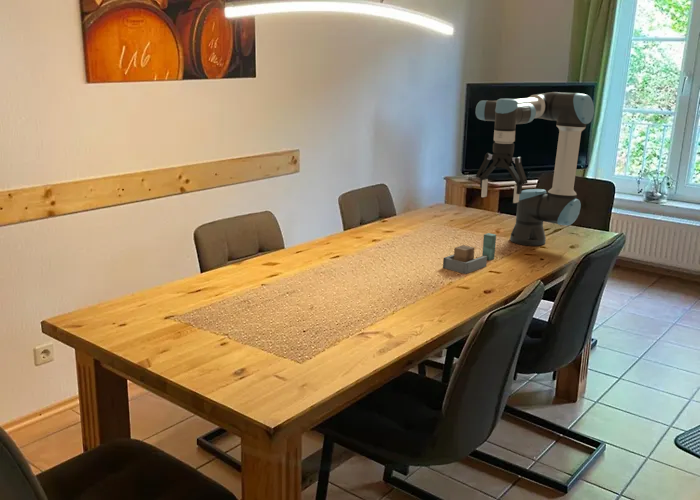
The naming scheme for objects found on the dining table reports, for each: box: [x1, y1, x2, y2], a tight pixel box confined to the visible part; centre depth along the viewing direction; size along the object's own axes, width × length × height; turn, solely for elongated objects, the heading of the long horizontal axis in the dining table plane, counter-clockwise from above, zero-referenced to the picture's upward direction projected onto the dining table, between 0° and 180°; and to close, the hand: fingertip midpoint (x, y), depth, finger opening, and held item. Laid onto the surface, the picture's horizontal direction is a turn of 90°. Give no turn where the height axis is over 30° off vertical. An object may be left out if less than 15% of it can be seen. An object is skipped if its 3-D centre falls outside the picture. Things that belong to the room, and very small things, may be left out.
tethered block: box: [453, 232, 497, 262], centre depth 269 cm, size 22×5×10 cm, turn 137°
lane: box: [442, 254, 488, 275], centre depth 265 cm, size 14×10×4 cm
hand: (499, 199), depth 256 cm, fingers open, 13 cm apart
